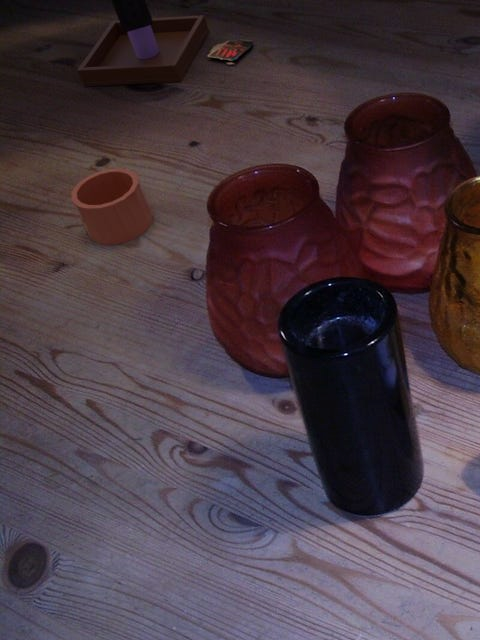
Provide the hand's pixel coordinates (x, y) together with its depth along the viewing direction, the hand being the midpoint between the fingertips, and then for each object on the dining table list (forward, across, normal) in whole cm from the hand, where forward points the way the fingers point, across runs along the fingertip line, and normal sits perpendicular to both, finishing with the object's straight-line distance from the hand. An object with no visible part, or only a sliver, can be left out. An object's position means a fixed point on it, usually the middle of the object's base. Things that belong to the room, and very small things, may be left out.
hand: (130, 10), depth 109 cm
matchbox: (+6, +5, +8) cm, 11 cm away
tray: (+6, 0, 0) cm, 6 cm away
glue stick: (+5, 0, 0) cm, 5 cm away
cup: (+6, +31, -8) cm, 32 cm away
